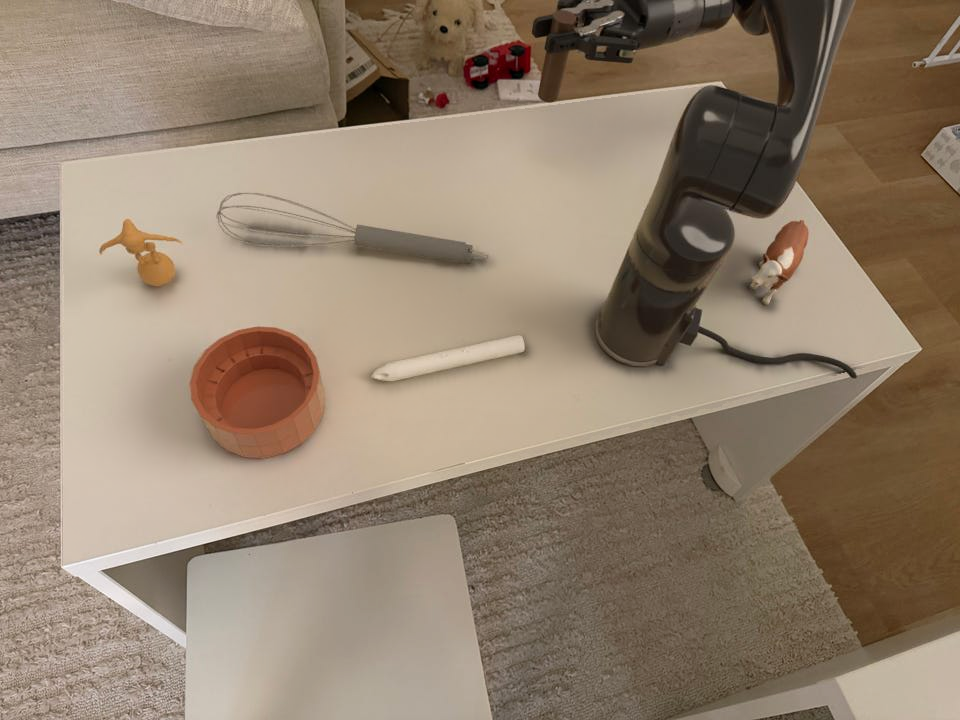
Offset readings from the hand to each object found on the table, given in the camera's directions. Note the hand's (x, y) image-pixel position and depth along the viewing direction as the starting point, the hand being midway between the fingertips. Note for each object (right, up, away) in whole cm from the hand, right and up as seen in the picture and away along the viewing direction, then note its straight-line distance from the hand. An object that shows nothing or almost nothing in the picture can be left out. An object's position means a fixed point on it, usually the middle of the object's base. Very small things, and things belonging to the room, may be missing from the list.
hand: (541, 36), depth 80 cm
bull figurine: (+30, -29, +8) cm, 43 cm away
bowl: (-31, -44, -8) cm, 54 cm away
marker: (-11, -40, -3) cm, 41 cm away
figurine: (-45, -30, -1) cm, 55 cm away
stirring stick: (+2, -4, +8) cm, 9 cm away
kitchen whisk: (-24, -24, +5) cm, 34 cm away
